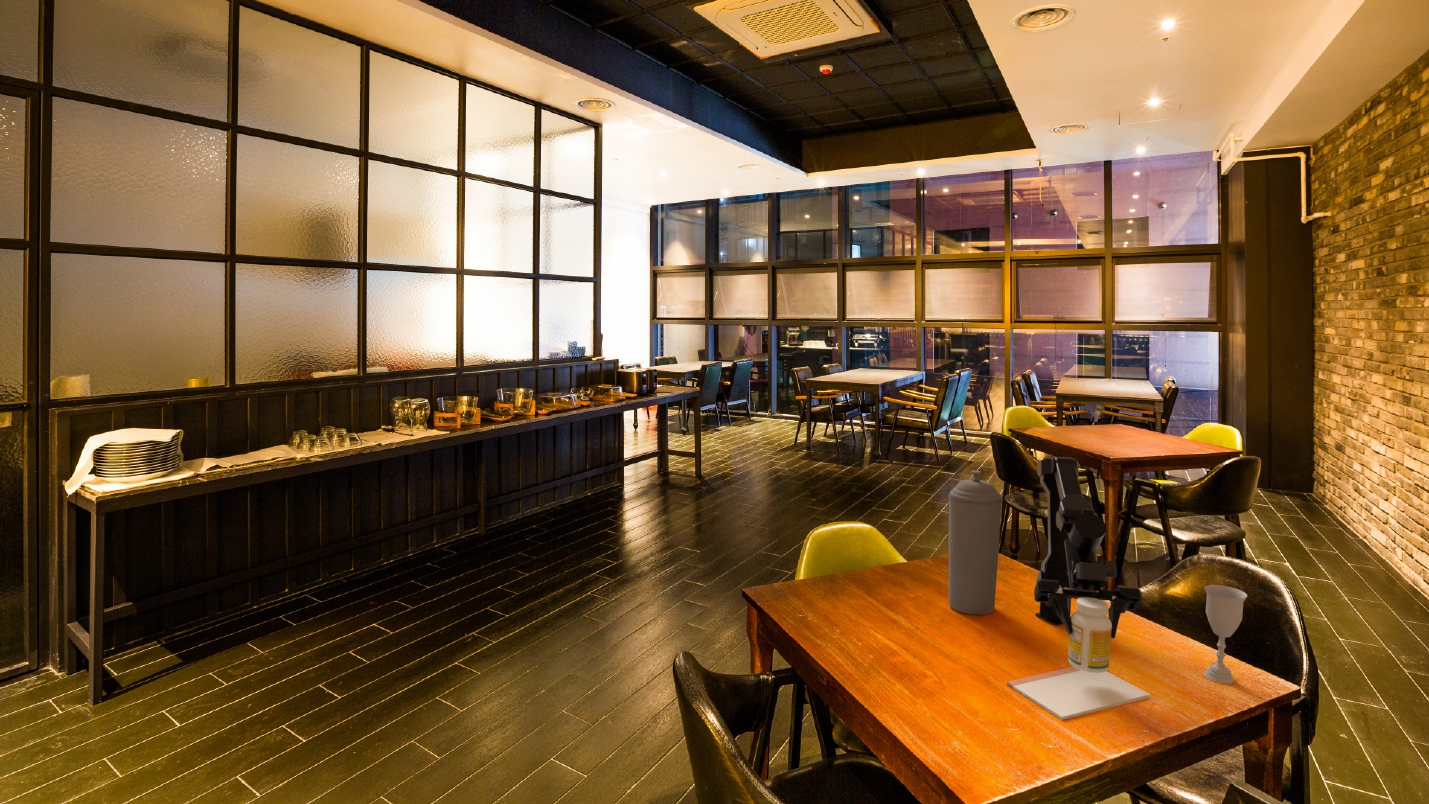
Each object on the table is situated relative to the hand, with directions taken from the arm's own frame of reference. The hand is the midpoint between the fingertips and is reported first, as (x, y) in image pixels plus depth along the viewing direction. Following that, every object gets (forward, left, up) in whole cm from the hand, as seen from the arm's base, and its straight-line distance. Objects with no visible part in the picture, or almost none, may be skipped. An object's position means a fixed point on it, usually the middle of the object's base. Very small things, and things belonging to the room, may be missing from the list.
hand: (1091, 636), depth 139 cm
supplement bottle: (-1, -1, -7) cm, 7 cm away
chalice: (-29, +6, -11) cm, 31 cm away
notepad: (+2, 0, -11) cm, 11 cm away
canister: (-7, -41, -11) cm, 43 cm away
